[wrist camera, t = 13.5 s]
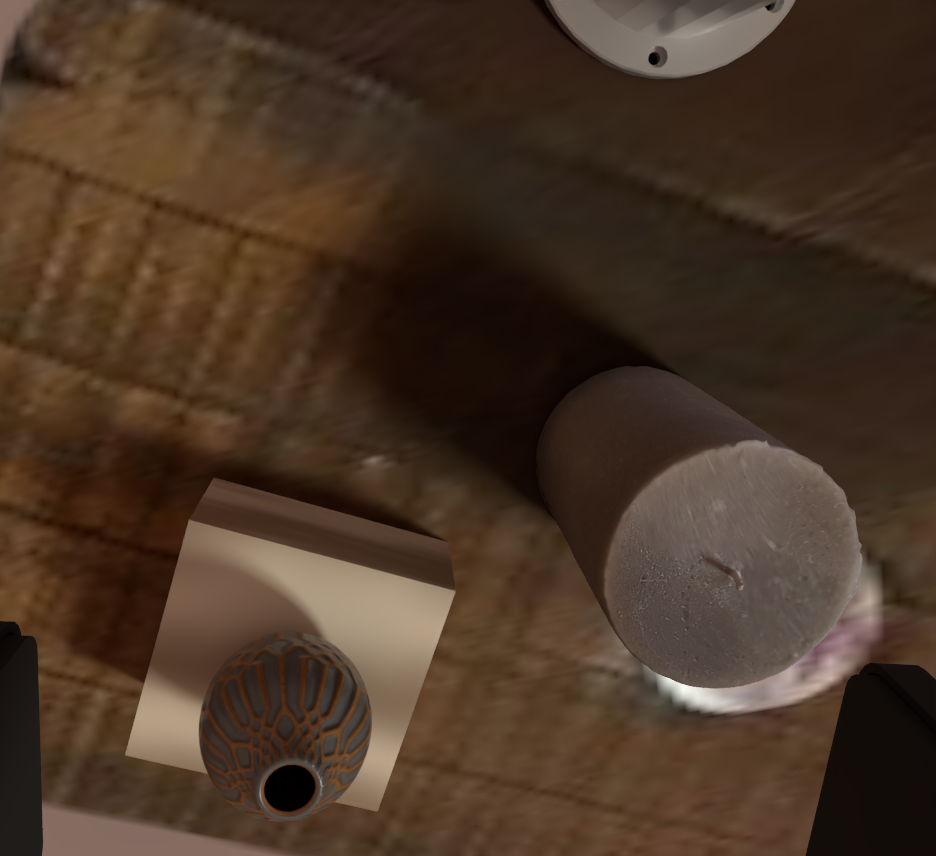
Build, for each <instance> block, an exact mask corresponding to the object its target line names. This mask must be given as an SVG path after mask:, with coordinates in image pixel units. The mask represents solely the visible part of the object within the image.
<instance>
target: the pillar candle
mask: <svg viewBox="0 0 936 856" xmlns="http://www.w3.org/2000/svg"><path fill="white" fill-rule="evenodd" d="M536 452H537V455H536V475H537V479H538V480H539V482H538V484H539V490H540V492H541V495H542V497H543V499H544V501H545V504H546V506H547V507H548V509H549V510H550V512H551V514H552V516H553V517H554V518H555V519H556V521H557V524H558V525H559V528H560V529H561V531H562V533H563V535H564V537H565V539H566V541H567V542H568V544H569V546H570V548H571V551H572V553H573V555H574V557H575V559H576V561H577V563H578V565H579V566H580V568H581V570H582V572H583V574H584V576H585V578H586V580H587V582H588V584H589V585H590V587H591V589H592V591H593V593H594V595H595V597H596V598H597V600H598V602H599V604H600V606H601V608H602V610H603V612H604V613H605V615H606V617H607V619H608V621H609V623H610V624H611V626H612V628H613V629H614V631H615V633H616V634H617V636H618V637H619V639H620V640H621V641H622V643H623V644H624V645H625V647H626V648H627V649H628V650H629V651H630V653H631V654H632V655H633V656H634V657H636V658H637V659H638V660H640V661H641V662H642V663H644V664H645V665H646V666H648V667H649V668H650V669H651V670H652V671H654V672H656V673H658V674H660V675H662V676H665V677H668V678H670V679H672V680H674V681H676V682H679V683H681V684H685V685H689V686H694V687H702V688H730V687H737V686H743V685H746V684H750V683H754V682H758V681H760V680H763V679H766V678H768V677H770V676H773V675H776V674H778V673H780V672H782V671H784V670H786V669H787V668H789V667H790V666H791V665H793V664H794V663H796V662H797V661H798V660H800V659H801V658H802V657H804V656H805V655H806V654H808V653H809V652H810V651H811V650H812V649H813V648H815V646H816V645H817V644H818V643H819V642H820V641H821V640H822V639H824V638H825V637H826V635H827V634H828V633H829V631H830V630H831V629H832V628H833V627H834V625H835V623H836V622H837V620H838V618H839V617H840V616H841V614H842V612H843V610H844V608H845V607H846V605H847V603H848V602H849V601H850V600H851V599H852V597H853V596H854V595H855V592H856V590H857V582H856V578H857V577H858V576H859V574H860V571H861V564H862V555H861V554H860V552H859V551H860V548H861V544H860V543H859V541H858V534H857V529H856V523H855V519H856V516H855V510H853V509H851V508H849V506H848V503H847V501H846V495H845V493H844V491H843V489H842V488H840V487H839V486H838V485H837V484H836V483H835V482H834V481H833V480H832V478H831V477H830V476H829V475H827V474H826V473H825V472H824V471H823V467H822V466H820V465H818V464H816V463H814V462H813V461H811V460H809V459H808V458H806V457H805V456H802V455H801V454H799V453H798V452H796V451H794V450H793V449H791V448H790V447H788V446H786V445H785V444H783V443H782V442H780V441H778V440H777V439H775V438H774V437H772V436H771V435H769V434H767V433H766V432H765V431H763V430H762V429H760V428H758V427H757V426H755V425H754V424H752V423H751V422H749V421H748V420H746V419H745V418H743V417H742V416H740V415H739V414H737V413H736V412H734V411H733V410H732V409H730V408H728V407H727V406H725V405H724V404H723V403H721V402H719V401H717V400H716V399H714V398H712V397H711V396H709V395H708V394H707V393H705V392H704V391H702V390H701V389H699V388H698V387H696V386H695V385H693V384H691V383H690V382H688V381H687V380H685V379H683V378H682V377H680V376H678V375H675V374H672V373H670V372H667V371H663V370H660V369H656V368H652V367H648V366H639V367H631V366H624V367H619V368H615V369H611V370H608V371H605V372H602V373H599V374H597V375H595V376H593V377H591V378H589V379H588V380H586V381H584V382H583V383H581V384H580V385H578V386H576V387H575V388H574V389H573V390H571V391H570V392H569V393H568V394H567V395H566V396H565V397H564V398H563V399H562V400H561V401H560V403H559V404H558V405H557V406H556V407H555V409H554V410H553V412H552V413H551V415H550V416H549V418H548V420H547V422H546V423H545V425H544V427H543V430H542V432H541V436H540V438H539V441H538V445H537V451H536Z"/></svg>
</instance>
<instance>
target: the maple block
mask: <svg viewBox="0 0 936 856" xmlns="http://www.w3.org/2000/svg"><path fill="white" fill-rule="evenodd" d="M455 592H456V590H455V584H454V577H453V571H452V564H451V558H450V552H449V545H448V542H446V541H442V540H439V539H435V538H432V537H428V536H424V535H421V534H417V533H413V532H410V531H406V530H403V529H399V528H395V527H392V526H388V525H384V524H381V523H377V522H374V521H370V520H366V519H363V518H359V517H355V516H352V515H348V514H345V513H341V512H337V511H334V510H330V509H327V508H323V507H319V506H316V505H312V504H308V503H305V502H301V501H298V500H294V499H290V498H287V497H283V496H279V495H276V494H272V493H269V492H265V491H261V490H258V489H254V488H250V487H247V486H243V485H240V484H236V483H232V482H229V481H225V480H222V479H218V478H213V480H212V481H211V483H210V485H209V486H208V488H207V490H206V492H205V493H204V495H203V497H202V498H201V500H200V502H199V503H198V505H197V507H196V508H195V510H194V512H193V514H192V515H191V517H190V519H189V521H188V525H187V528H186V532H185V536H184V540H183V543H182V547H181V551H180V554H179V558H178V562H177V565H176V569H175V573H174V576H173V580H172V584H171V588H170V591H169V595H168V599H167V602H166V606H165V610H164V613H163V617H162V621H161V624H160V628H159V632H158V636H157V639H156V643H155V647H154V650H153V654H152V658H151V661H150V665H149V669H148V672H147V676H146V680H145V684H144V687H143V691H142V695H141V698H140V702H139V706H138V709H137V713H136V717H135V720H134V724H133V728H132V731H131V735H130V739H129V743H128V746H127V750H126V754H125V755H126V756H131V757H135V758H140V759H144V760H149V761H153V762H158V763H162V764H167V765H171V766H176V767H180V768H185V769H189V770H194V771H198V772H203V773H207V770H206V768H205V765H204V762H203V760H202V756H201V751H200V745H199V719H200V713H201V708H202V704H203V700H204V697H205V695H206V692H207V689H208V687H209V685H210V683H211V681H212V679H213V677H214V676H215V674H216V673H217V671H218V670H219V669H220V667H221V666H222V665H223V664H224V662H225V661H226V660H227V659H228V658H229V657H230V656H231V655H232V654H233V653H235V652H236V651H237V650H238V649H240V648H241V647H243V646H244V645H246V644H247V643H249V642H251V641H253V640H255V639H257V638H259V637H262V636H265V635H268V634H272V633H277V632H288V631H292V632H303V633H308V634H311V635H315V636H317V637H320V638H322V639H324V640H326V641H328V642H330V643H332V644H333V645H335V646H336V647H337V648H339V649H340V650H341V651H342V652H343V653H344V654H345V655H346V656H347V657H348V658H349V659H350V660H351V661H352V662H353V664H354V665H355V667H356V668H357V670H358V671H359V673H360V675H361V677H362V679H363V681H364V684H365V686H366V689H367V693H368V696H369V700H370V705H371V712H372V731H371V738H370V743H369V748H368V751H367V754H366V757H365V760H364V762H363V765H362V767H361V769H360V771H359V773H358V774H357V776H356V778H355V779H354V781H353V782H352V784H351V785H350V786H349V788H348V789H347V790H346V791H345V792H344V793H343V794H342V795H341V796H340V797H339V798H338V799H337V800H336V801H335V802H337V803H342V804H346V805H351V806H355V807H360V808H364V809H369V810H373V811H378V809H379V806H380V803H381V800H382V797H383V795H384V792H385V789H386V786H387V783H388V781H389V778H390V775H391V772H392V769H393V766H394V764H395V761H396V758H397V755H398V752H399V750H400V747H401V744H402V741H403V738H404V735H405V733H406V730H407V727H408V724H409V721H410V719H411V716H412V713H413V710H414V707H415V704H416V702H417V699H418V696H419V693H420V690H421V688H422V685H423V682H424V679H425V676H426V673H427V671H428V668H429V665H430V662H431V659H432V657H433V654H434V651H435V648H436V645H437V642H438V640H439V637H440V634H441V631H442V628H443V626H444V623H445V620H446V617H447V614H448V611H449V609H450V606H451V603H452V600H453V597H454V595H455ZM207 774H208V773H207Z"/></svg>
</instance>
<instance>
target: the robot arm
mask: <svg viewBox="0 0 936 856" xmlns="http://www.w3.org/2000/svg"><path fill="white" fill-rule="evenodd" d="M544 1H545V3H546V6H547V7H548V9H549V10H550V12H551V13H552V15H553V16H554V18H555V19H556V21H557V22H558V24H559V25H560V27H561V28H562V30H563V31H564V32H565V33H566V34H567V35H568V36H569V37H570V38H571V39H572V40H573V41H574V42H575V43H576V44H577V45H578V46H579V47H580V48H581V49H582V50H584V51H585V52H587V53H588V54H590V55H591V56H593V57H594V58H596V59H597V60H599V61H600V62H602V63H603V64H605V65H607V66H609V67H612V68H614V69H617V70H619V71H622V72H624V73H627V74H629V75H634V76H640V77H646V78H652V79H674V78H685V77H689V76H693V75H698V74H702V73H705V72H709V71H711V70H714V69H716V68H719V67H721V66H724V65H727V64H728V63H730V62H732V61H734V60H735V59H737V58H739V57H740V56H742V55H744V54H745V53H747V52H749V51H750V50H752V49H753V48H754V47H755V46H756V45H757V44H759V43H760V42H761V41H762V40H763V39H764V38H765V37H767V36H768V35H769V34H770V33H771V32H772V31H773V30H774V29H775V28H776V27H777V25H778V24H779V23H780V22H781V21H782V19H783V18H784V17H785V16H786V15H787V13H788V12H789V11H790V9H791V8H792V6H793V4H794V2H795V0H544ZM769 4H771V8H770V10H769V11H767V9H766V8H765V6H767V5H769ZM651 53H653V54H655V55H656V56H657V62H656V64H655V65H652V64H650V63H649V61H648V57H649V54H651ZM42 830H43V829H42V794H41V758H40V723H39V687H38V652H37V643H36V640H35V638H34V637H33V636H21V631H20V628H19V626H18V625H17V624H16V623H15V622H5V621H0V856H42V848H43V831H42ZM806 856H936V680H935V679H934V678H933V677H932V676H931V675H930V674H929V673H928V672H927V671H926V670H924V669H923V668H921V667H920V666H917V665H902V664H881V663H869V664H867V665H865V666H864V667H863V669H862V670H861V671H860V673H859V675H857V674H855V675H853V676H851V677H850V679H849V680H848V682H847V685H846V688H845V692H844V696H843V700H842V704H841V709H840V713H839V717H838V721H837V726H836V730H835V734H834V738H833V743H832V747H831V751H830V755H829V759H828V764H827V768H826V772H825V776H824V781H823V785H822V789H821V793H820V798H819V802H818V806H817V810H816V815H815V819H814V823H813V827H812V831H811V836H810V840H809V844H808V848H807V853H806Z"/></svg>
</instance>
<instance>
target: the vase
mask: <svg viewBox="0 0 936 856" xmlns="http://www.w3.org/2000/svg"><path fill="white" fill-rule="evenodd" d="M371 731H372V712H371V705H370V700H369V696H368V693H367V689H366V686H365V684H364V681H363V679H362V677H361V675H360V673H359V671H358V670H357V668H356V667H355V665H354V664H353V662H352V661H351V660H350V659H349V658H348V657H347V656H346V655H345V654H344V653H343V652H342V651H341V650H340V649H339V648H337V647H336V646H335V645H333V644H332V643H330V642H328V641H326V640H324V639H322V638H320V637H317V636H315V635H311V634H308V633H303V632H292V631H288V632H277V633H272V634H268V635H265V636H262V637H259V638H257V639H255V640H253V641H251V642H249V643H247V644H246V645H244V646H243V647H241V648H240V649H238V650H237V651H236V652H235V653H233V654H232V655H231V656H230V657H229V658H228V659H227V660H226V661H225V662H224V664H223V665H222V666H221V667H220V669H219V670H218V671H217V673H216V674H215V676H214V677H213V679H212V681H211V683H210V685H209V687H208V689H207V692H206V695H205V697H204V700H203V704H202V708H201V713H200V719H199V745H200V751H201V756H202V760H203V762H204V765H205V768H206V770H207V773H208V775H209V777H210V779H211V780H212V782H213V784H214V785H215V787H216V788H217V789H218V791H219V792H220V793H221V794H222V796H223V797H224V798H225V799H226V800H227V801H228V802H230V803H231V804H232V805H233V806H235V807H236V808H237V809H239V810H241V811H242V812H244V813H246V814H248V815H251V816H253V817H256V818H260V819H264V820H270V821H292V820H297V819H301V818H305V817H308V816H311V815H313V814H315V813H317V812H319V811H321V810H323V809H325V808H326V807H328V806H329V805H331V804H332V803H334V802H335V801H336V800H337V799H338V798H339V797H340V796H341V795H342V794H343V793H344V792H345V791H346V790H347V789H348V788H349V786H350V785H351V784H352V782H353V781H354V779H355V778H356V776H357V774H358V773H359V771H360V769H361V767H362V765H363V762H364V760H365V757H366V754H367V751H368V748H369V743H370V738H371Z"/></svg>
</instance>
